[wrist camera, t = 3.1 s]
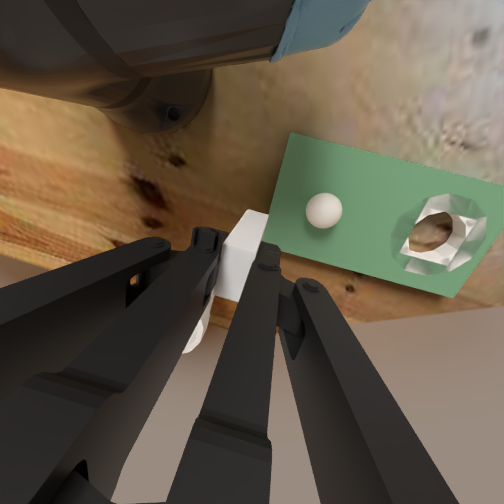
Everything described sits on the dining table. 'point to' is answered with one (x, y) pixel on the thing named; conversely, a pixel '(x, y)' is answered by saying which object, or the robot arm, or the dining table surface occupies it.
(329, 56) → the dining table surface
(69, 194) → the dining table surface
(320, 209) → the ball
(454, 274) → the green
